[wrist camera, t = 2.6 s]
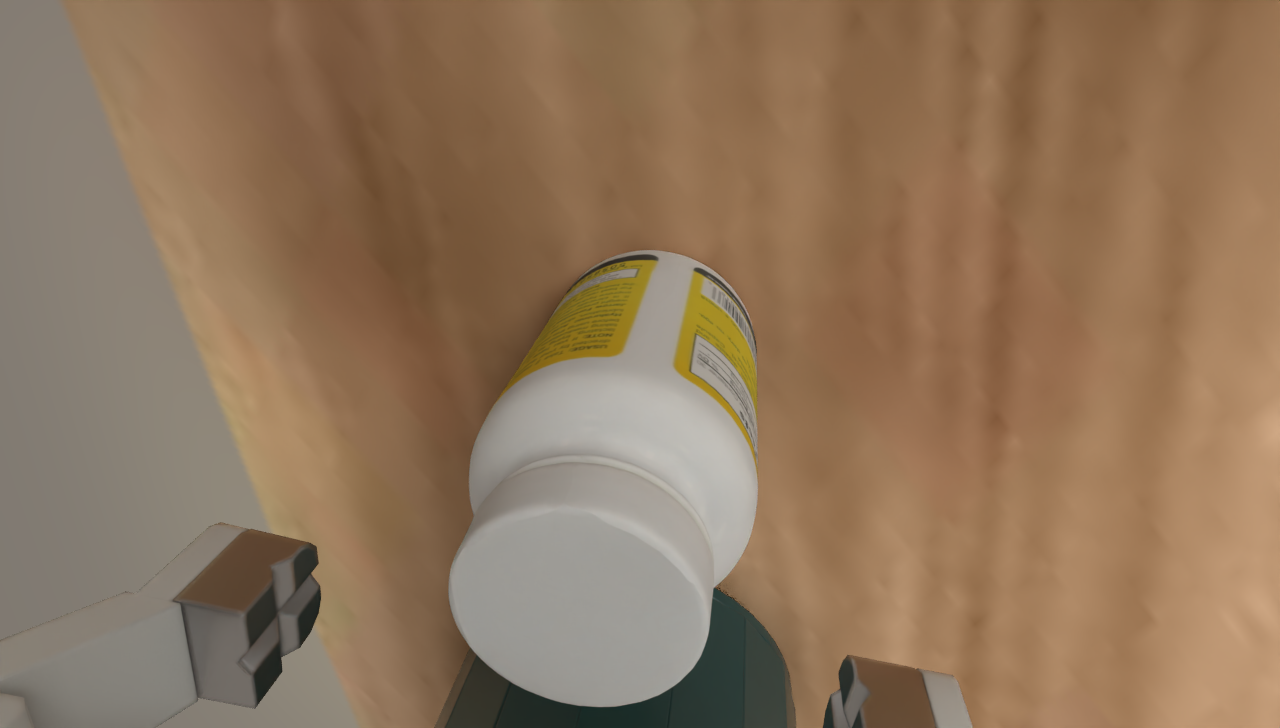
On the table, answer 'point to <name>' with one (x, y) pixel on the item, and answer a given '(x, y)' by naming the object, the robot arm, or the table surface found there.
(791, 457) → the table surface
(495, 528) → the supplement bottle
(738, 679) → the pot
